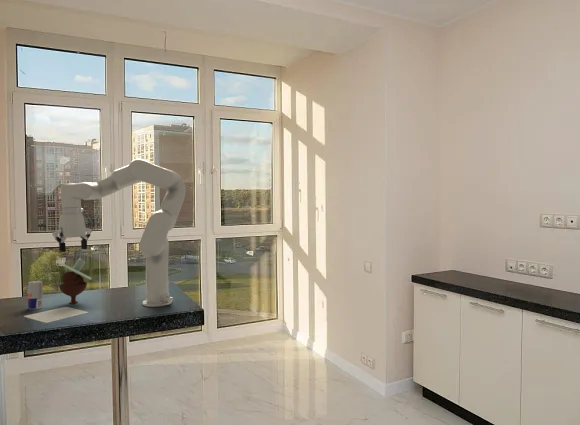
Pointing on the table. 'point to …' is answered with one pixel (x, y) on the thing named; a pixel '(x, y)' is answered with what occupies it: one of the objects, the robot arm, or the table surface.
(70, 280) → the ice cream bowl
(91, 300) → the table surface
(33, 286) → the energy drink
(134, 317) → the table surface
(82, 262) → the lid
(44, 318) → the mat
